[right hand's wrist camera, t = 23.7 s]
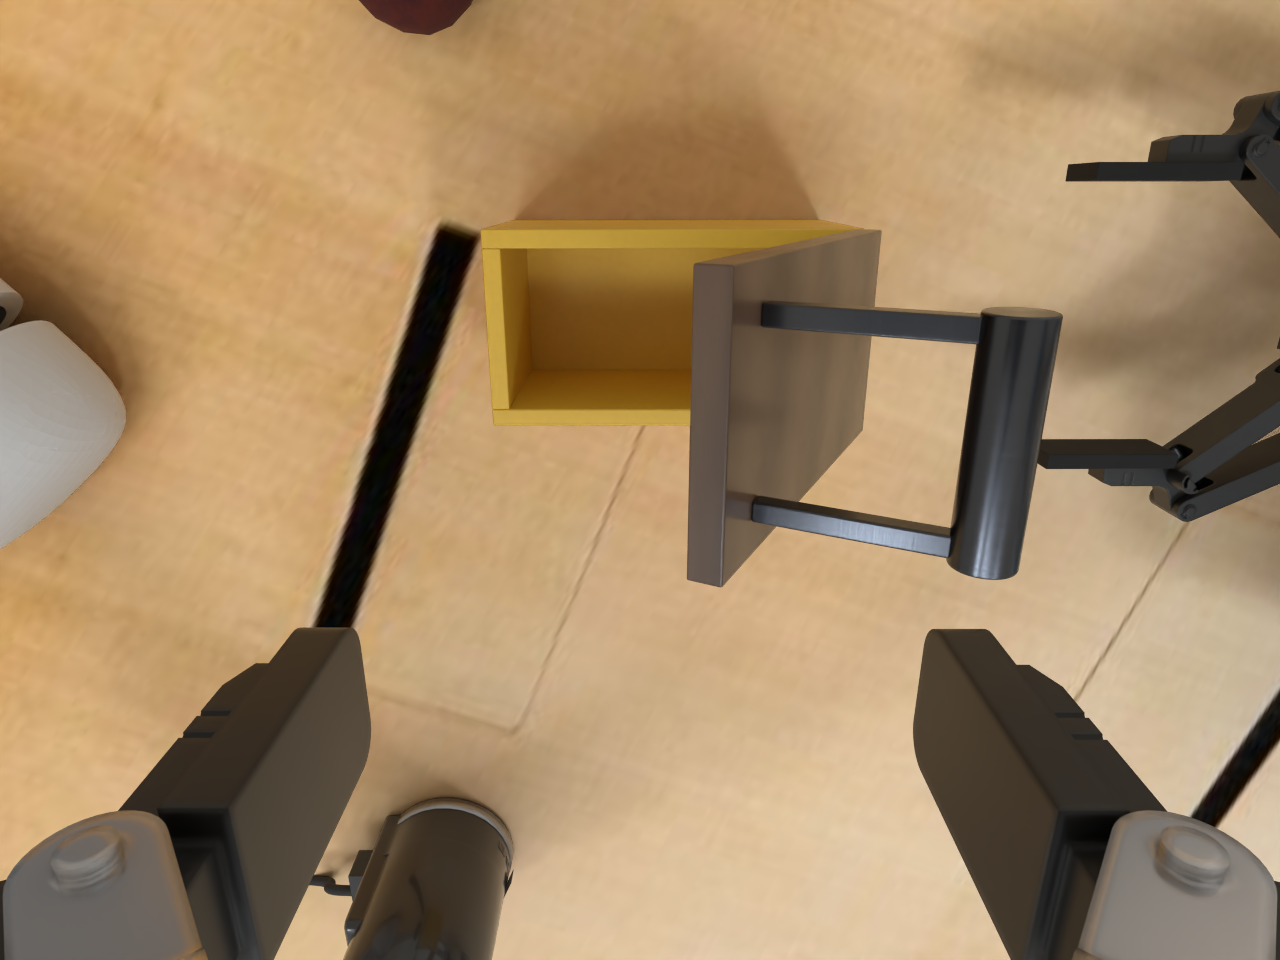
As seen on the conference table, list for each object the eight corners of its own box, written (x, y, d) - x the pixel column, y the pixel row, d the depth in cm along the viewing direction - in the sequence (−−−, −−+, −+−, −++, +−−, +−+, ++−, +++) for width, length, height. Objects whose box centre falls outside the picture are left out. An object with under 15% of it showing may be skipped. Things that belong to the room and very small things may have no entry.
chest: (520, 380, 50) (493, 426, 40) (512, 219, 46) (479, 229, 37) (808, 379, 50) (847, 425, 40) (820, 219, 46) (865, 228, 37)
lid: (686, 580, 25) (1004, 652, 21) (692, 263, 21) (1069, 280, 18) (838, 427, 40) (1038, 453, 36) (855, 229, 37) (1076, 234, 33)
